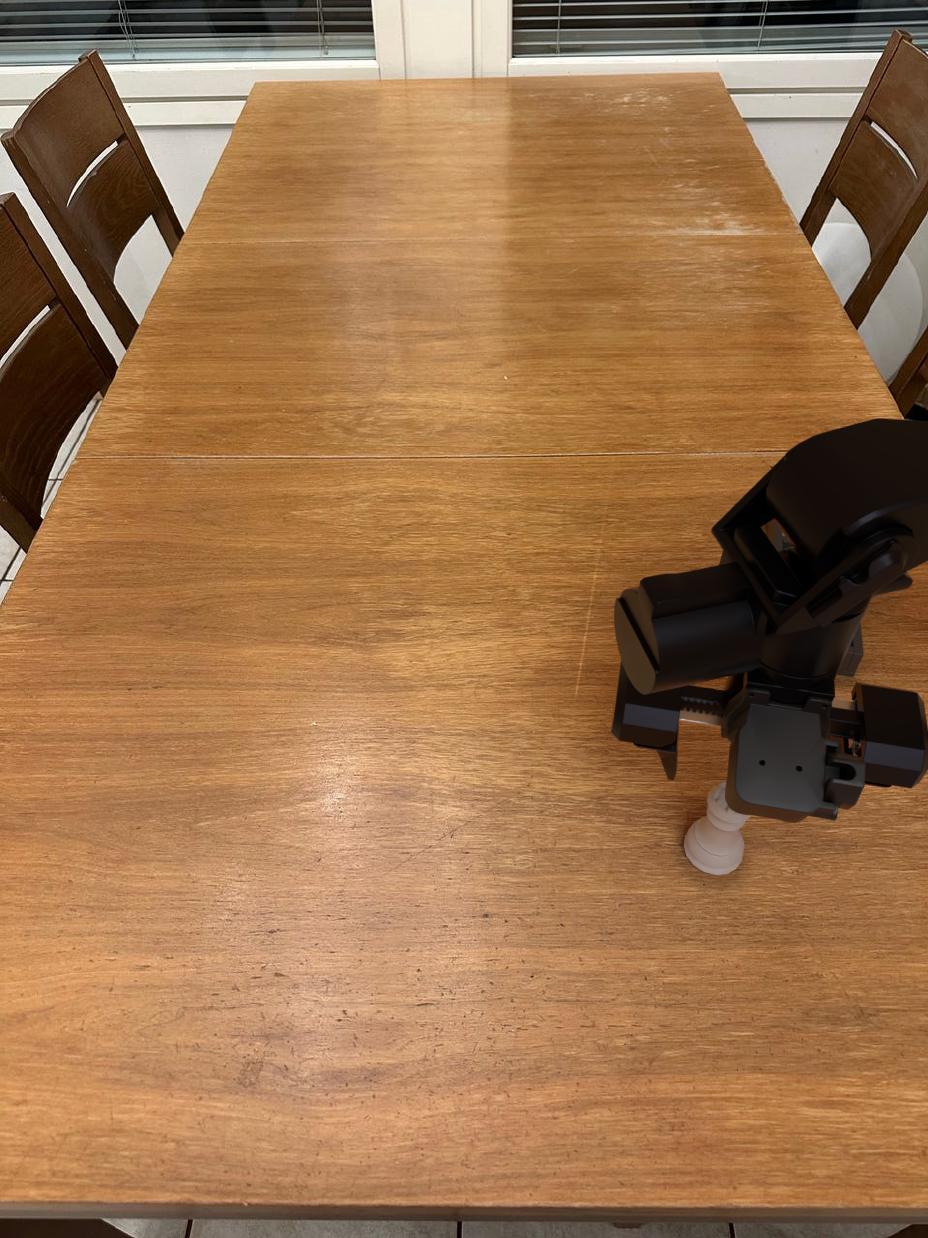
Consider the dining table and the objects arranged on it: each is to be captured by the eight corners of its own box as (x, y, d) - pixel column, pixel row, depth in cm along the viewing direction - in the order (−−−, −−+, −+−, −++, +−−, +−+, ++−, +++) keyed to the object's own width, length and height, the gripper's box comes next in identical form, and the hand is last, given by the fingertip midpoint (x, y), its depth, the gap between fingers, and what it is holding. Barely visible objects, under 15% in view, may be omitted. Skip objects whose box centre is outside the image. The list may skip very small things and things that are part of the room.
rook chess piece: (752, 868, 71) (777, 814, 65) (698, 885, 71) (719, 831, 65) (724, 818, 74) (746, 762, 68) (672, 834, 73) (690, 778, 67)
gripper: (616, 726, 50) (590, 866, 62) (989, 786, 47) (888, 920, 59) (634, 578, 57) (608, 728, 69) (958, 623, 55) (874, 771, 66)
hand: (738, 786), depth 66 cm, fingers open, 9 cm apart
